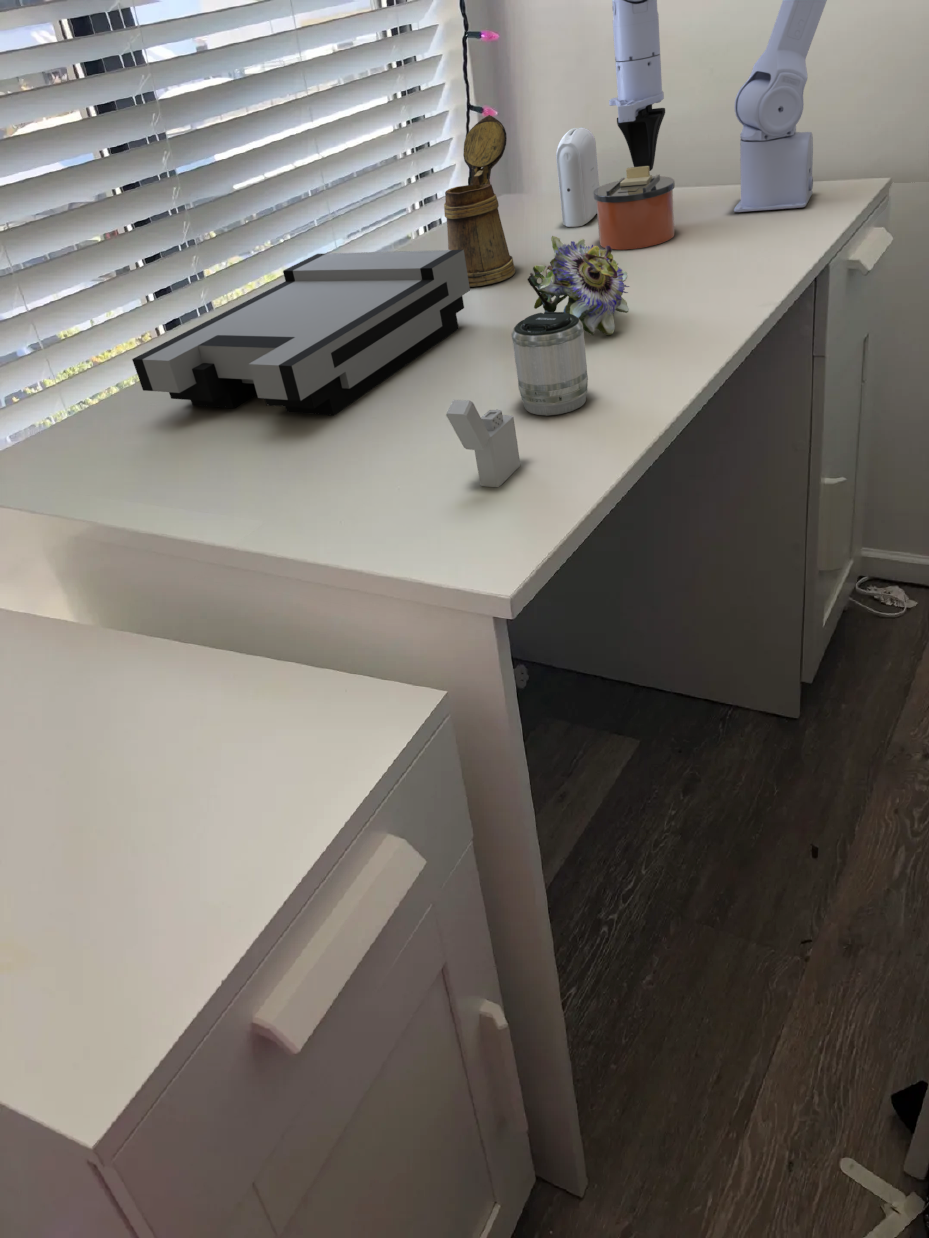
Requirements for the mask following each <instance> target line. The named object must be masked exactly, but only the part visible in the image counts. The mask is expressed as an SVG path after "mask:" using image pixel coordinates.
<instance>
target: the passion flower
mask: <svg viewBox="0 0 929 1238" xmlns="http://www.w3.org/2000/svg"><path fill="white" fill-rule="evenodd" d="M550 239H551V244H552V245H551V246H552V249H553V253H554V254H553V256H554V258H552V259H551V260H550V261H549V265H548V266H546V265H538V264H536V265H533V267H532V271H533V273H532V272H530V273H529V275H528V278H527V279H526V280H527V282H528V283H529V285H530V287H531V288H532V289H533V290H534V291H535V293H536V294H537V296H538V297H537V299H535V302H534V305H533V308H534V309H535V310H537V309H539V308H540V307H541V306H542V308H543V310H544V312H557V307H558V305H559V304H560V303H561V302H562V301H563V300H565V299H566V298H567V297H568V298H567V303H566V305H565V306H564V307H563V311H562V312H565V313H568V314H572V315H575V316H576V317H578V318H579V319H580V321H581V322H582V324H583V331H584V332H586V333H588V334H589V335H591V336H594V334H595V332H596V330H598V331H599V332H600V333H602V334H604V335H606V336H612V335H613V334H614V331H615V327H616V325H615V317H614V314H615V312H619V313H623V314H627V313H629V311H630V307H629V305H628V301H626V299H625V298H624V297H622V296H623V294H629V291H625V289H626V288H630V286H629V285H627V284H625V283H624V282H626V280H627V279H628V271H626V270H623V269H622V268H621V267H619V263H617V261H616V260H615V259H614V254H612V252H613V249H611V247H610V246H605V248H604V249H600V247H599V246H598V245H594V244H591V247H590V246H589V245H588V246H587V245H586V244H585V243H586V242H585V241H586V240H585V239H584V238H580V239H579V240H578V241H577V242H575V241H574V240H573V241H570V244H569V243H568V244H566V243H563V242H562V241H561V238H560V237H558V236H555V235H552V236H551V238H550ZM548 270H549V271H548ZM543 272H544V273H545V276H544V274H543ZM538 279H540V280H541V282H538ZM553 298H554V299H553ZM552 299H553V300H552Z"/></svg>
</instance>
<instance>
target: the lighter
mask: <svg viewBox="0 0 929 1238" xmlns="http://www.w3.org/2000/svg"><path fill="white" fill-rule="evenodd" d="M445 416H446V418H447V420H448V421H449V423H450V425H451V427H452V428H453V430H454V433H455V434H456V436H457V437H458V438H457V439H459V441H460V443H461V445H462V447H463V449H465V450H471V451H474V455H475V462H476V466H477V472H478V480H479V485H480V486H481V487H488V488H499V487H501V486H502V485H503V484H504V483H505V482H506V481H507V480H508V479H509V478H510V477H511V476H512V475H513V474H514V473H515V472H516V471H517V470H518V469H519V468H520V467H521V459H520V452H519V445H518V439H517V432H516V424H515V418H514V415H512V414H503V410H501V409H498V408H496V409H489V410H487V411H486V412H485V413H484V414H483V415H480V414H479V412H478V410H477V408H476V406H475V404H474V402H473V401H471V400H469V399H453V400H452V401H451V403H450V405H449V408H448V410H447V411H446V414H445Z"/></svg>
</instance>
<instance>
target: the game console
mask: <svg viewBox="0 0 929 1238" xmlns="http://www.w3.org/2000/svg"><path fill="white" fill-rule="evenodd" d="M282 273H283V277H284V281H283V282H281V283H279V284H277V285H276V286H274V287H272V288H270V289H268V290H265V291H264V292H261V293H259V294H258V295H256V296H254V297H252V298H250V299H248V300H246V301H244V302H242V303H239V304H238V305H235V306H234V307H232V308H230V309H228V310H226V311H224V312H222V313H220V314H218V315H216V316H214V317H212V318H210V319H209V320H206V321H204V322H202V323H200V324H197V326H194V327H192V328H190V329H188V330H186V331H185V332H182V333H181V334H179V335H177V336H174V337H173V338H171V339H168V340H167V341H165V342H163V343H161V344H159V345H157V346H155V347H153V348H151V349H149V350H147V351H145V352H143V353H141V354H139V355H137V356H136V357H133V358H132V359H131V361H132V363H133V366H134V368H135V371H136V375H137V378H138V380H139V384H140V386H141V388H142V391H145V392H161V393H169V396H170V399H171V400H185V401H190V403H191V406H195V407H196V406H197V407H210V408H223V409H236V408H237V407H239V406H240V405H241V404H244V403H245V402H247V401H249V400H251V398H254V397H255V396H257V399H264V401H265V404H266V406H272V407H284V408H285V413H290V414H291V413H293V414H303V415H317V416H319V415H320V416H333V417H334V416H335V415H337V414H338V413H340V412H341V411H343V410H344V409H345V408H348V407H349V406H350V405H351V404H353V403H354V402H355V401H357V400H359V399H360V398H361V397H362V396H364V395H365V394H367V393H368V392H370V391H372V390H373V389H374V388H376V387H377V386H379V385H381V383H383V382H384V381H386V380H387V379H389V378H390V377H392V376H393V375H394V374H396V373H397V372H399V371H400V370H402V369H403V368H405V367H406V366H408V365H409V364H410V363H412V362H413V361H415V360H416V359H418V358H419V357H421V356H422V355H423V354H425V353H426V352H428V351H429V350H430V349H432V348H434V347H435V346H436V345H438V344H439V343H440V342H442V341H443V340H445V339H446V338H448V337H450V336H451V335H452V334H454V333H455V332H456V331H458V330H459V323H458V318H457V317H458V316H457V313H459V312H461V311H462V310H464V309H465V304H464V297H463V296H464V295H465V294H467V293H468V292H470V291H471V287H469V281H468V274H467V268H466V261H465V255H464V250H448V249H441V250H440V249H435V250H403V251H401V250H400V251H397V250H396V251H367V252H365V251H364V252H332V253H327V252H325V253H316V254H314V255H312V256H310V257H308V258H306V259H304V260H302V261H299V262H298V263H296V264H294V265H292V266H290V267H287V268H285V269H283V270H282Z"/></svg>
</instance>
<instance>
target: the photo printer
mask: <svg viewBox="0 0 929 1238" xmlns="http://www.w3.org/2000/svg"><path fill="white" fill-rule="evenodd" d="M555 160H556V161H555V162H556V168H557V170H556V171H557V178H558V179H557V181H558V190H559V199H560V209H561V219H562V224H563V226H566V227H567V228H578V227H583V226H584V225H585V224H588V223H589V222H591V220H592V219H593V218H595V216H597V215H596V214H597V204H596V200H595V199H594V196H593V192H594V190H595V189H597V188H598V187H600V177H599V165H598V153H597V141H596V138H595V136H594V134H593V132H592V131H591V130H590V129H589V128H586V127H583V126H582V127H573V128H570V129H569V130H568V131H567V132H565V134H564V135H563V136H562V138H561V139H560V141H559V143H558V145H557V147H556V155H555Z"/></svg>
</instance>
